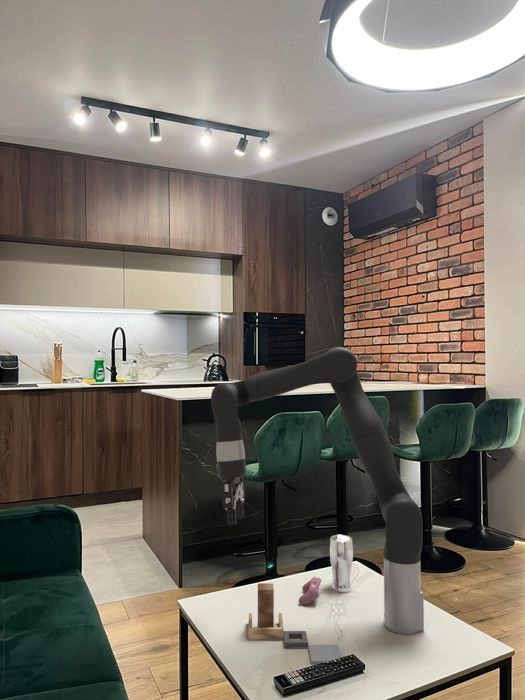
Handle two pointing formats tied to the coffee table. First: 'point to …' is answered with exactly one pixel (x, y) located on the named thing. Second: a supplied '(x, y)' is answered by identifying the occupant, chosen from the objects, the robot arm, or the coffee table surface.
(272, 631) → the wooden u-shaped bracket
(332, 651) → the grey pad
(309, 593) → the video game controller
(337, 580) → the beer glass
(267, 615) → the walnut block
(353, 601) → the coffee table surface
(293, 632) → the grey square frame
